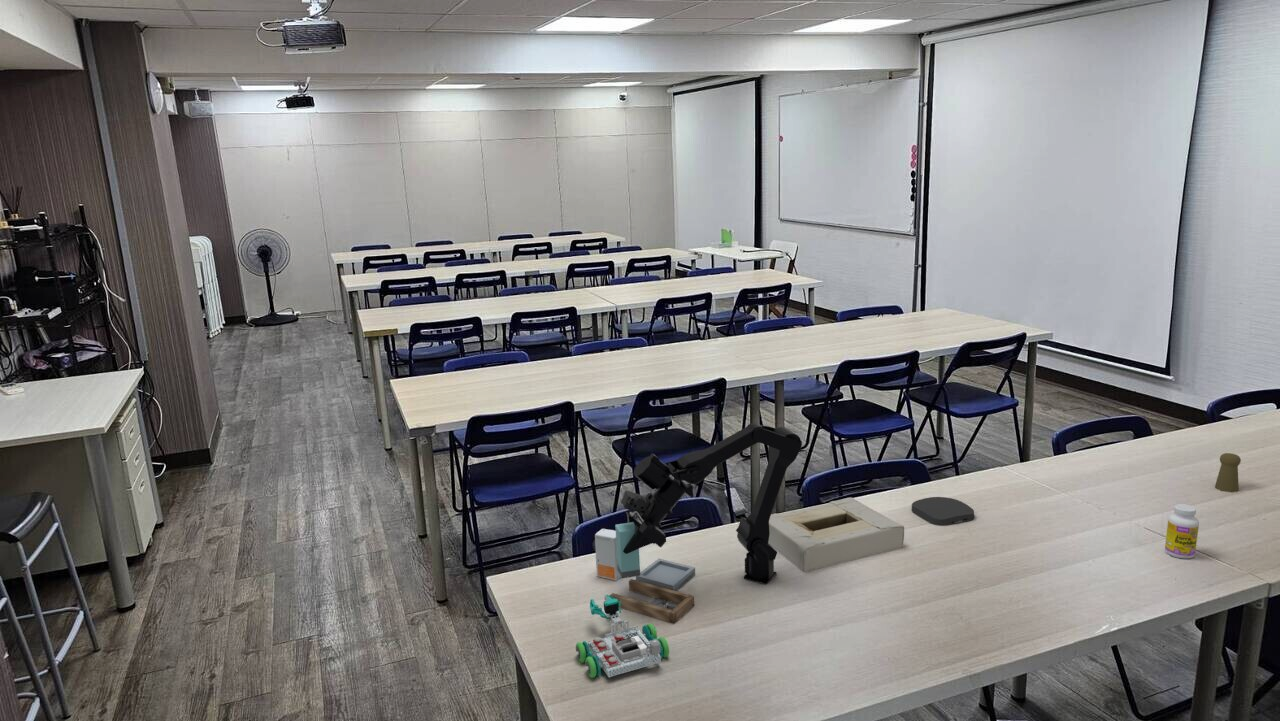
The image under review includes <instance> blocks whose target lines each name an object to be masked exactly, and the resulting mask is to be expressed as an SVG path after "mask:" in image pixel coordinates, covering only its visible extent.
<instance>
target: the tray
mask: <svg viewBox="0 0 1280 721" xmlns="http://www.w3.org/2000/svg"><path fill="white" fill-rule="evenodd" d="M695 576H696V567H694V566H691V565H686V564H682V563H678V562H674V561H672V560H671V561H670V560H666V559H664V558H657V559H656V560H654V562H652V563H651V564H649V565H648V566H647V567H646V568H644V569H642V570H640V576H635V580H637V581H641V582H645V583H648V584H652V585H655V586H659V587H663V588H666V589H670V590H674V591H677V592H678V590H679V589H680V588H682V587H683V586H684V585H685V584H686V583H687V582H688V581H689V580H691V579H692V578H693V577H695Z"/></svg>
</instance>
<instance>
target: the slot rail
mask: <svg viewBox="0 0 1280 721" xmlns="http://www.w3.org/2000/svg"><path fill="white" fill-rule="evenodd" d="M628 590H629V591H632V592H635V593H638V594H640V595H641V594H642V595H646V596H648V597H649V596H650V597H652V598H655V599H657V598H660V597H661V598H663V599H664V600H666V602H668V603H669V602H676V603H680V604H679V605H677V606H676V607H675V608H674V609H673V610H669V609H668V608H667V607H665V608H663V607H659V606H656V605H652V604H649V603H648V602H645V601H642V600H638V599H634V598H631V597H627V596H625V595H621V594H617V593H614V592H612V593H611V594H609V596H612V597H613V598H615V599H617V600H619V601H620V602H621V604H620V605H621V607H619V609H624V610H627V611H631V612H634V613H637V614H640V615H643V616H647V617H651V618H653V619H658V620H661V621H664V622H666V623H667V622H668V623H670V624H673V625H674V624H676V623H677V622H678V621H679V620H680V619H681V618H682V617H684V615H686V614H687V613H688V612H689V611H690V610H691V609H692V608H693V607H694V606H695V596H694V595H691V594H687V593H684V592H680V591H678V590H677V591H674V590H670V589H666V588H663V587H659V586H655V585H652V584H648V583H645V582H641V581H637V580H636V579H634V578H630V579H629V580H628Z"/></svg>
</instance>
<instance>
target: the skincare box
mask: <svg viewBox="0 0 1280 721" xmlns="http://www.w3.org/2000/svg"><path fill="white" fill-rule="evenodd" d="M594 543H595V544H594V545H595V566H596V577H598V578H603V579H608V580H611V581H616V582H617V581H618V580H619V579H620V578H621V576H620V574H619V572H618V568H617V546H616V530H614V529H606V528H601V529H600V530H599V531H596V533H595V534H594Z"/></svg>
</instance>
